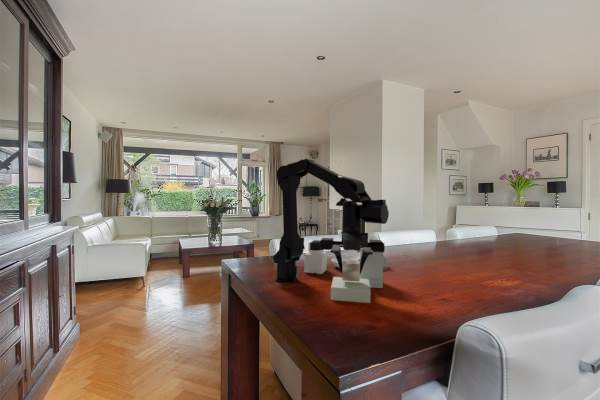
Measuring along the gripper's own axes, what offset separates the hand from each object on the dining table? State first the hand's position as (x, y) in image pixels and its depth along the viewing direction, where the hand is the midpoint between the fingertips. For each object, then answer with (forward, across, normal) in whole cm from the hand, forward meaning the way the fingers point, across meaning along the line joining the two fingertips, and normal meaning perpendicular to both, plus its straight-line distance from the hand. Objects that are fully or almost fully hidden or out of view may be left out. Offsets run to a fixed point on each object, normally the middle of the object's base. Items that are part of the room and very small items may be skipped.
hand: (350, 273), depth 89 cm
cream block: (+2, 0, 0) cm, 2 cm away
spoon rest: (+7, +4, +35) cm, 36 cm away
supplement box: (+7, +7, +12) cm, 15 cm away
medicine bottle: (+7, -13, +25) cm, 29 cm away
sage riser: (+7, 0, 0) cm, 7 cm away
